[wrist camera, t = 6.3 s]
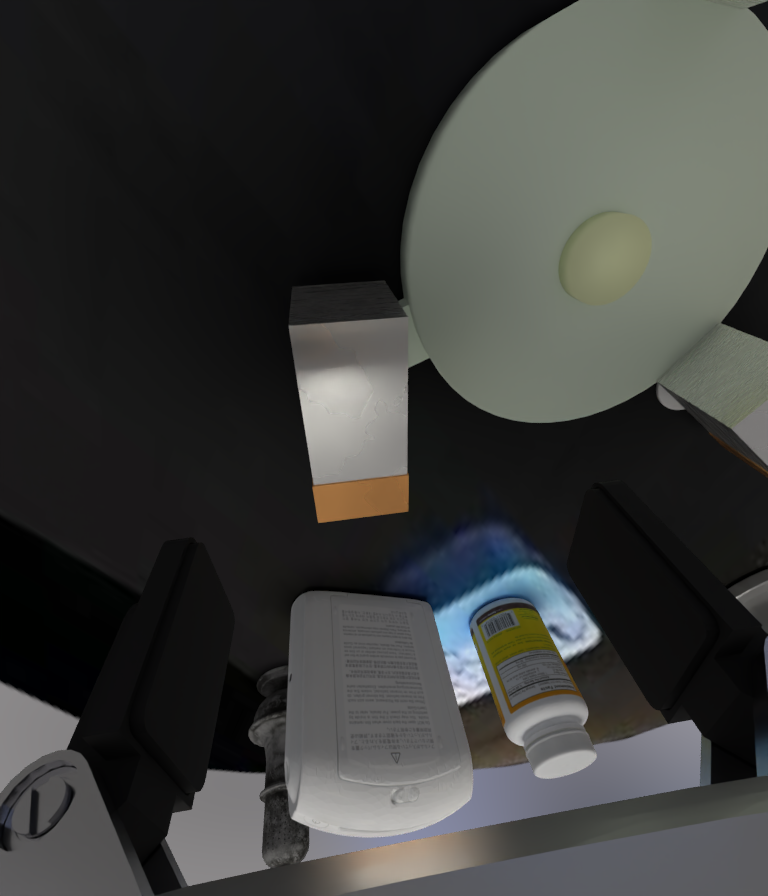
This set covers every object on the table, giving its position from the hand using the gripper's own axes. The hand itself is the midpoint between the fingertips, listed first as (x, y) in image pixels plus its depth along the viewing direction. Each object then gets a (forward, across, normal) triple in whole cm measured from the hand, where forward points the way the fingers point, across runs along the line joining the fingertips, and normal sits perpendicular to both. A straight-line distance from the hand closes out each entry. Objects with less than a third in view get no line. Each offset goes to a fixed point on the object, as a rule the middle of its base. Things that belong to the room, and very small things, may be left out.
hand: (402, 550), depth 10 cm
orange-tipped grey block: (+11, +1, -1) cm, 11 cm away
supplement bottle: (+12, -9, +22) cm, 27 cm away
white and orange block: (+12, -18, +3) cm, 22 cm away
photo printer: (+12, +2, +18) cm, 22 cm away
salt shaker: (+12, +8, +27) cm, 30 cm away
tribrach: (+11, -7, -5) cm, 14 cm away
